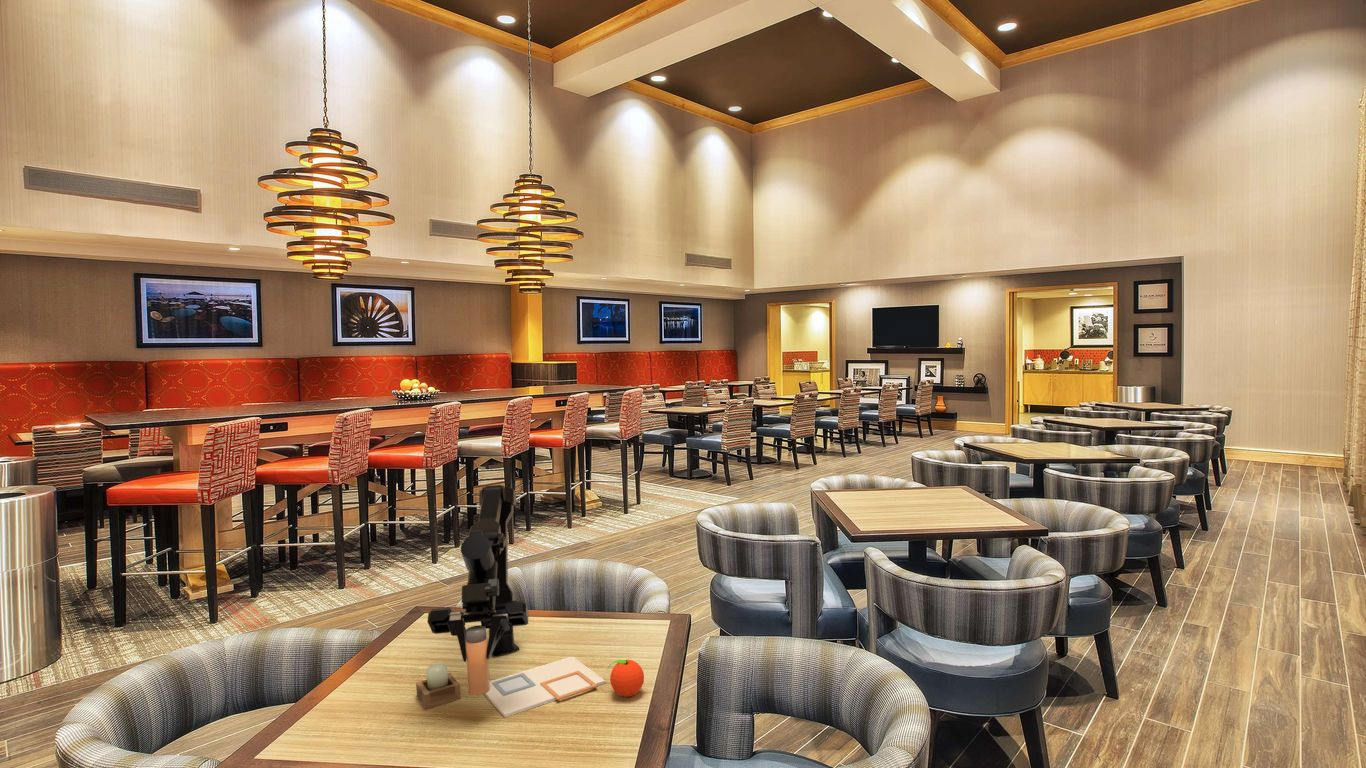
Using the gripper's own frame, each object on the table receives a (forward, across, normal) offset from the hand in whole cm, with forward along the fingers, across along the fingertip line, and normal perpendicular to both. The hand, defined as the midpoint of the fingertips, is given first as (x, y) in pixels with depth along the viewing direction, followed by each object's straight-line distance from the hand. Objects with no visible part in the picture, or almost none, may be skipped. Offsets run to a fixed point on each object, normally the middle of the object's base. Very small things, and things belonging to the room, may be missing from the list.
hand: (476, 659), depth 130 cm
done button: (-2, -10, +16) cm, 20 cm away
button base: (0, -10, +18) cm, 21 cm away
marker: (+4, 0, +6) cm, 7 cm away
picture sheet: (-1, +11, +18) cm, 21 cm away
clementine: (+5, +28, +13) cm, 31 cm away
